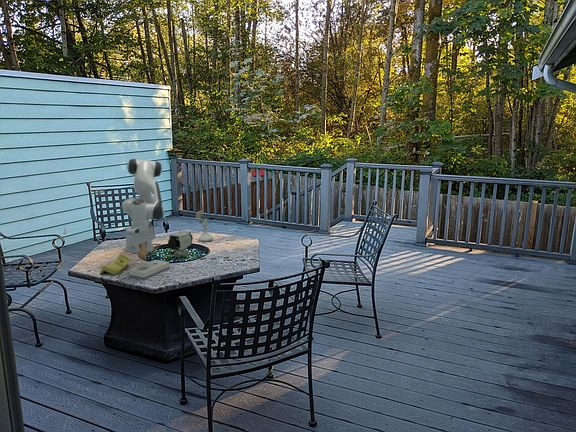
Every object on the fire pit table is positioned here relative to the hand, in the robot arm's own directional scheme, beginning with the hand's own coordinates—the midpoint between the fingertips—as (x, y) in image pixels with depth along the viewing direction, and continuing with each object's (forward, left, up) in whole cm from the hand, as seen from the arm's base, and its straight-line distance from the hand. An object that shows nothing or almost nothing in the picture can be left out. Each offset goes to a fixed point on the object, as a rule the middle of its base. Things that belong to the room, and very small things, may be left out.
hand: (142, 250), depth 258 cm
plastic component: (-22, -1, -16) cm, 27 cm away
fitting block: (0, +5, -16) cm, 16 cm away
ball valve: (-4, +40, -16) cm, 43 cm away
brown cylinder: (0, 0, -5) cm, 5 cm away
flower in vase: (-15, +80, -16) cm, 83 cm away
